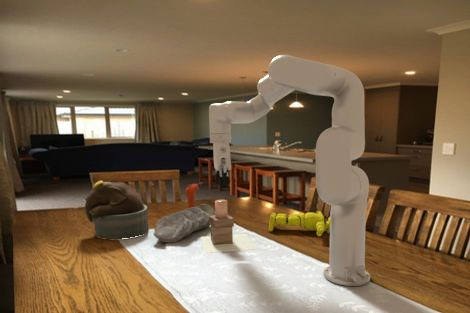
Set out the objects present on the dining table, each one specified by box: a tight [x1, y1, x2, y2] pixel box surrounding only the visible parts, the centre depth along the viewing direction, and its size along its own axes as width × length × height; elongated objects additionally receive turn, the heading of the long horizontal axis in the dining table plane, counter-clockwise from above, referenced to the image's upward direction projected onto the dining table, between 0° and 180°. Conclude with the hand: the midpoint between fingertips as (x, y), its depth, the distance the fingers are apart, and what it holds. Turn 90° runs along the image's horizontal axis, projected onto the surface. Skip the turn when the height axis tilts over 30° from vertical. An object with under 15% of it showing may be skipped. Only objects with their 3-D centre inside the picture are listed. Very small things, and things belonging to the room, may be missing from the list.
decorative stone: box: [153, 203, 215, 244], centre depth 146 cm, size 32×15×10 cm, turn 154°
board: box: [200, 233, 259, 254], centre depth 133 cm, size 18×18×1 cm
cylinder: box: [214, 199, 228, 219], centre depth 133 cm, size 4×4×6 cm
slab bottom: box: [210, 232, 234, 245], centre depth 134 cm, size 7×7×3 cm
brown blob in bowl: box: [84, 180, 150, 239], centre depth 148 cm, size 23×25×22 cm
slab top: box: [209, 214, 235, 229], centre depth 134 cm, size 7×7×3 cm
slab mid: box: [210, 225, 234, 237], centre depth 134 cm, size 7×7×3 cm
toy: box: [268, 210, 330, 237], centre depth 149 cm, size 30×9×30 cm
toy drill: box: [184, 181, 203, 209], centre depth 184 cm, size 5×19×15 cm, turn 162°
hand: (222, 186), depth 132 cm, fingers open, 9 cm apart
